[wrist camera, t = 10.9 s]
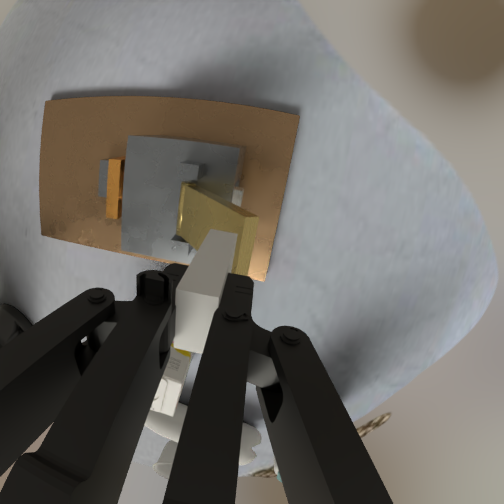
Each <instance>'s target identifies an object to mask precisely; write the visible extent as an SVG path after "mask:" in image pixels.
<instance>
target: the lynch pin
mask: <svg viewBox="0 0 504 504" xmlns="http://www.w3.org/2000/svg"><path fill="white" fill-rule="evenodd" d="M125 159H126V156H122V157H117V158H112V159H109V165H108V179H107V199H106V217H107V218H112V219H119V218H120V217H122V197H123V182H124V169H125ZM243 194H244V188H241V187H235V186H234V192H233V198H232V203H233V204H235V205H237V206H239V207H241V205H242V200H243Z"/></svg>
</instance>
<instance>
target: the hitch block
mask: <svg viewBox="0 0 504 504" xmlns="http://www.w3.org/2000/svg"><path fill="white" fill-rule="evenodd" d="M299 118H300V116H299V115H294V114H289V113H285V112H280V111H275V110H269V109H264V108H258V107H252V106H246V105H240V104H233V103H225V102H217V101H208V100H198V99H187V98H173V97H153V96H102V97H82V98H69V99H58V100H49V101H46V102H45V109H44V116H43V125H42V135H41V148H40V171H39V198H40V221H41V234H42V235H43V236H47V237H51V238H56V239H60V240H64V241H68V242H73V243H77V244H82V245H86V246H90V247H95V248H99V249H104V250H108V251H113V252H118V253H122V254H127V255H131V256H136V257H141V258H146V259H150V260H155V261H160V262H165V263H170V264H173V263H178V264H183V265H188V266H189V265H190V263H191V261H192V260H193V258H194V256H195V254H196V253H197V250H196V249H195V248H193V247H192V246H191V245H190V244H189V243H188V242H187V241H186V240H185V239H183V238H182V237H181V236H178V235H177V234H176V226H177V216H178V207H179V198H180V189H181V182H182V181H190V182H195V183H196V185H197V186H199V187H201V188H203V189H205V190H207V191H209V192H211V193H213V194H215V195H217V196H219V197H221V198H223V199H225V200H227V201H229V202H231V203H232V198H233V192H234V186H235V187H241V188H244V194H243V200H242V205H241V208H243V209H245V210H247V211H249V212H251V213H253V214H255V215H257V216H259V221H258V226H257V231H256V236H255V241H254V246H253V251H252V256H251V261H250V266H249V271H248V276H250V277H251V279H254V280H259V281H265V277H266V273H267V269H268V264H269V260H270V255H271V251H272V246H273V242H274V237H275V233H276V228H277V224H278V219H279V214H280V210H281V205H282V201H283V196H284V191H285V186H286V182H287V177H288V172H289V167H290V163H291V158H292V153H293V148H294V143H295V138H296V133H297V128H298V123H299ZM122 156H126V159H125V169H124V182H123V197H122V217H120V218H119V219H112V218H107V217H106V199H107V179H108V165H109V159H112V158H117V157H122Z"/></svg>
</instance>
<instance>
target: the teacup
mask: <svg viewBox="0 0 504 504" xmlns="http://www.w3.org/2000/svg"><path fill="white" fill-rule="evenodd" d="M177 445H178V443H177V442H175V441H173V440H170V441H169V442H168V443H167V444H166V446H165V447H164V449H163V452H162V454H161V456H160V458H159V460H158V462H157V463H155V464H154V465H153V469H154V471H155V472H156V473H158V474H159V475H161V476H162V477H164V478H166V479H169V476H170V472H171V468H172V464H173V460H174V457H175V453H176V449H177Z"/></svg>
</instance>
